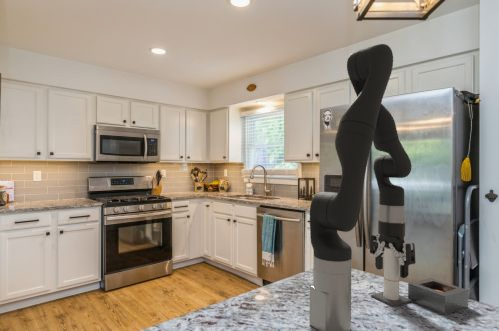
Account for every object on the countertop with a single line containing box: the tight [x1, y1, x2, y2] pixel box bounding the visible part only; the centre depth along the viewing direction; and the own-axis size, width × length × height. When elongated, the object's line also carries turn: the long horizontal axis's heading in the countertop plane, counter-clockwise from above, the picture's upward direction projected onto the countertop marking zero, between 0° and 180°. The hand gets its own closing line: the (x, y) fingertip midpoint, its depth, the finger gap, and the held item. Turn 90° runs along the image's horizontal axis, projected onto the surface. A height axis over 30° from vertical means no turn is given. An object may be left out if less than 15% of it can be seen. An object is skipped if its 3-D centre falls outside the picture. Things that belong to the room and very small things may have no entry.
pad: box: [370, 291, 412, 308], centre depth 94 cm, size 8×8×1 cm
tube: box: [383, 247, 401, 300], centre depth 94 cm, size 4×4×15 cm
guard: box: [407, 277, 469, 316], centre depth 92 cm, size 11×11×5 cm
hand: (391, 273), depth 95 cm, fingers open, 8 cm apart
